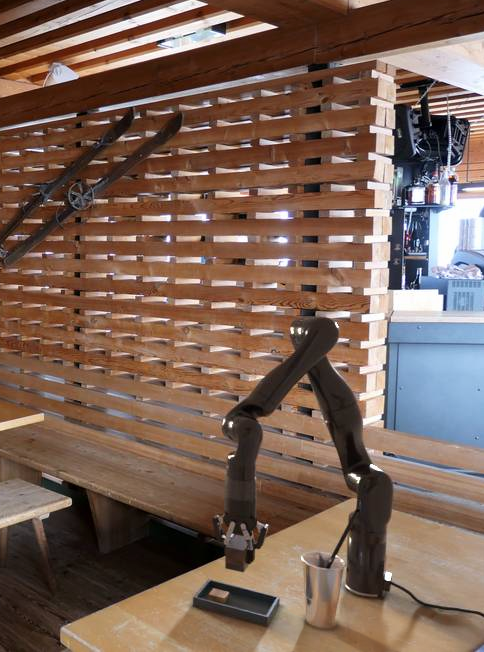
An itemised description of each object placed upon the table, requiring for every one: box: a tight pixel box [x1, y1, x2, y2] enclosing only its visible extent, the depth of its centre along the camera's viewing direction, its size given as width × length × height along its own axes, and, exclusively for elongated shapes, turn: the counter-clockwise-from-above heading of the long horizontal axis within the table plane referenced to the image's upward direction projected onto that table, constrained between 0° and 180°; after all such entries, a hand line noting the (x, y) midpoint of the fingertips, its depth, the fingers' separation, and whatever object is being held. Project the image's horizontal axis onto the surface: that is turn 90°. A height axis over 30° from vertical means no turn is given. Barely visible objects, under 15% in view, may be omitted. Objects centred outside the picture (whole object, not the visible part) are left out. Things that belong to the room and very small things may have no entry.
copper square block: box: [209, 588, 229, 604], centre depth 187 cm, size 4×4×2 cm
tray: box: [192, 578, 281, 627], centre depth 185 cm, size 18×12×2 cm
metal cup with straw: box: [299, 508, 359, 630], centre depth 176 cm, size 11×11×30 cm
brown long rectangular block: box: [224, 534, 250, 573], centre depth 185 cm, size 4×9×6 cm, turn 148°
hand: (239, 560), depth 185 cm, fingers closed on brown long rectangular block, 4 cm apart
